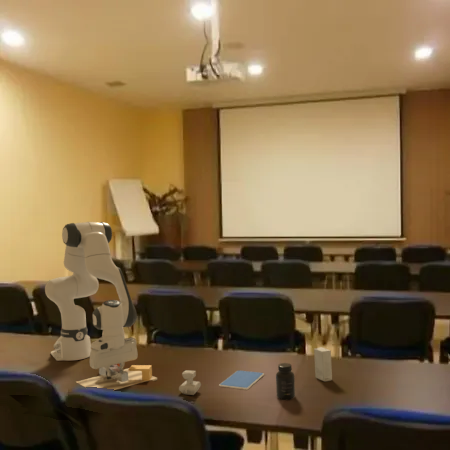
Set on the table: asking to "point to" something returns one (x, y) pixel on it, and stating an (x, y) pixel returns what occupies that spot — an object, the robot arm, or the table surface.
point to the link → (115, 373)
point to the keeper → (143, 370)
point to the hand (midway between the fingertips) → (114, 374)
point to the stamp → (189, 383)
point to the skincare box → (323, 364)
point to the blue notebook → (242, 380)
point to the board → (114, 381)
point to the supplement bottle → (285, 382)
